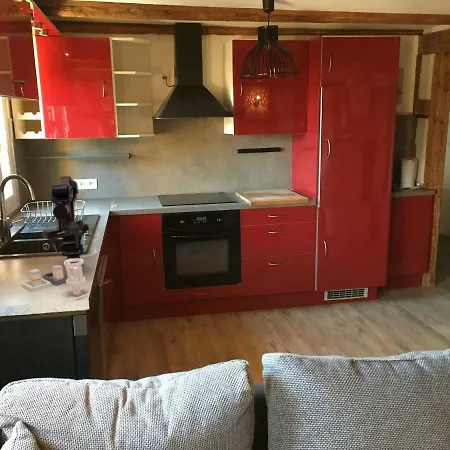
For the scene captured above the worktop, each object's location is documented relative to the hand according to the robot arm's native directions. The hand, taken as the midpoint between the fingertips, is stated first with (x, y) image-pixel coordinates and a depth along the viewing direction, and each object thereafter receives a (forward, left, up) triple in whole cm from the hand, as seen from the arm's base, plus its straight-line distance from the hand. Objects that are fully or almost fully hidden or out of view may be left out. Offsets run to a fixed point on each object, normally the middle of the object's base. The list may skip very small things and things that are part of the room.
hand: (68, 250), depth 211 cm
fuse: (+5, -8, -11) cm, 14 cm away
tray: (+2, -16, -12) cm, 20 cm away
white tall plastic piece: (+22, -9, -12) cm, 27 cm away
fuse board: (+2, -8, -12) cm, 14 cm away
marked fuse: (+2, -16, -11) cm, 20 cm away
